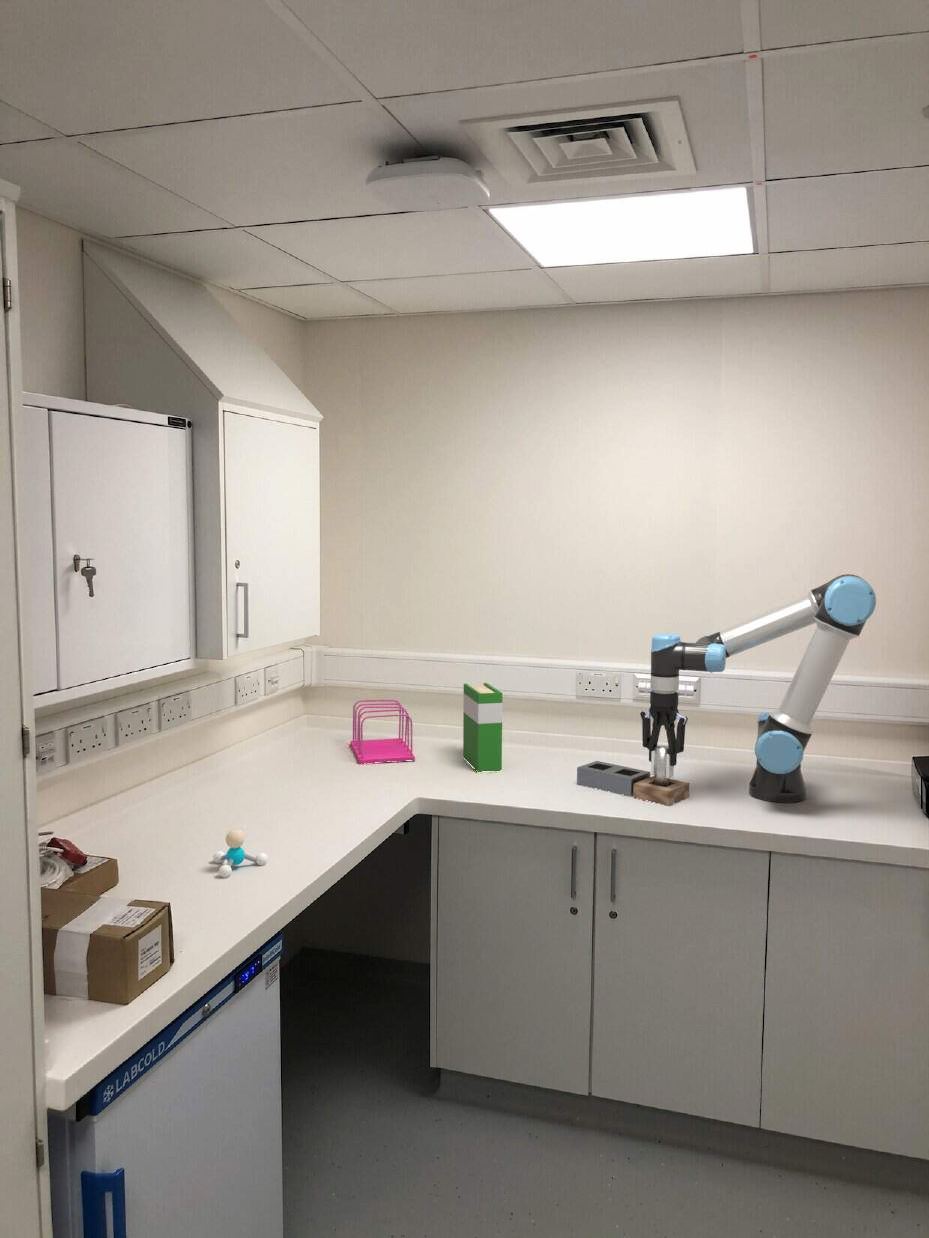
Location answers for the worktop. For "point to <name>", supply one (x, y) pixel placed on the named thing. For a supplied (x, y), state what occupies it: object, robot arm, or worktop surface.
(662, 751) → the silver metal cylinder
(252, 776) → the worktop surface
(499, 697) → the hardback book
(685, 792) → the walnut socket block
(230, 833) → the molecule model
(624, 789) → the block
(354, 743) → the file sorter
